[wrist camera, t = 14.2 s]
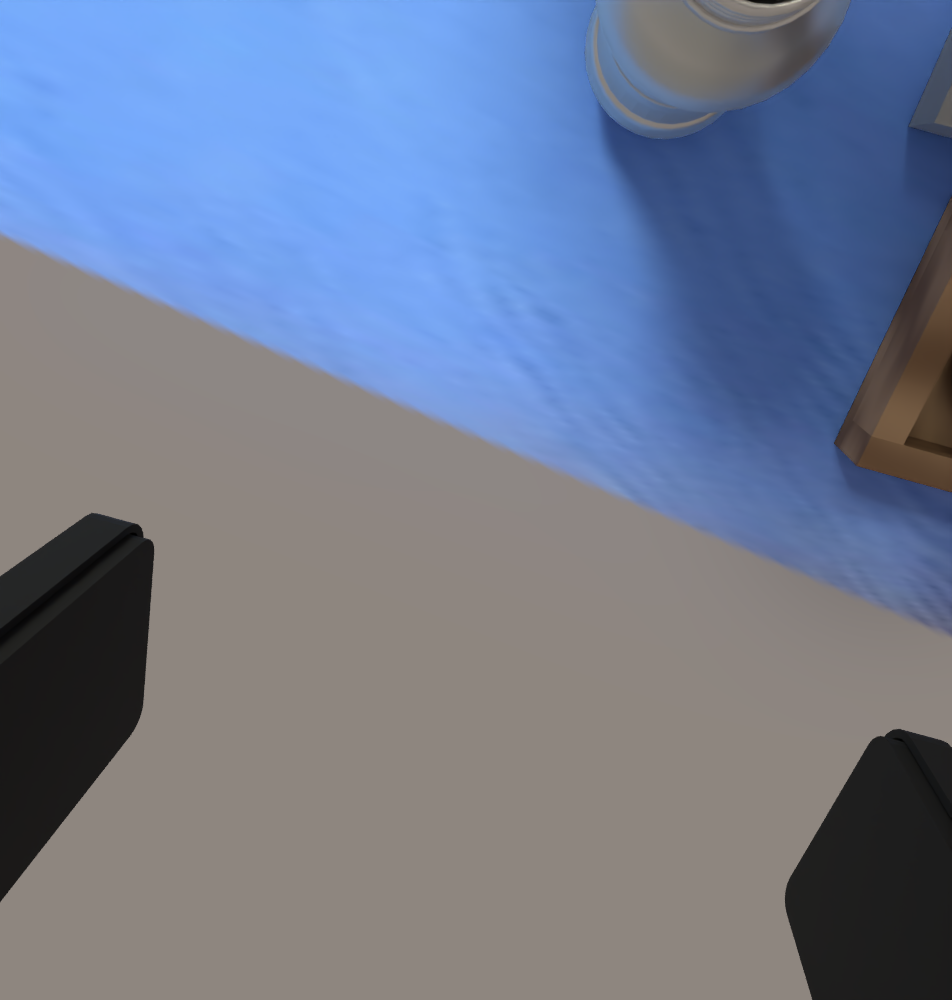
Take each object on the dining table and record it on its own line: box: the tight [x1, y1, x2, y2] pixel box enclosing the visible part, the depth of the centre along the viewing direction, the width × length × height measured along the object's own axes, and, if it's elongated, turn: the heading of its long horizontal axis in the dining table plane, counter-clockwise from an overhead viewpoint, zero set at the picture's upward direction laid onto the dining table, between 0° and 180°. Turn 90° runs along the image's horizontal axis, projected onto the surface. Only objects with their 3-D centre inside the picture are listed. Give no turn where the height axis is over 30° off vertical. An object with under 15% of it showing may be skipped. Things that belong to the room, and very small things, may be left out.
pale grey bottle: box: [585, 0, 851, 139], centre depth 23 cm, size 6×7×20 cm
